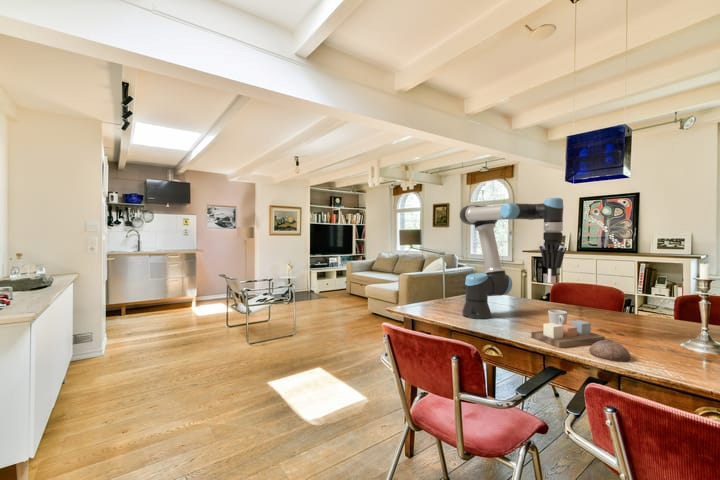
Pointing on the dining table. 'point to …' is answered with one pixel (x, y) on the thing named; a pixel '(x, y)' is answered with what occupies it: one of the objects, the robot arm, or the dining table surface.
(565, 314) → the cup
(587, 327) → the block slate
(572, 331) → the block terracotta
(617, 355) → the decorative stone
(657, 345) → the dining table surface
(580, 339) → the walnut board
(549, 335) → the block cream
